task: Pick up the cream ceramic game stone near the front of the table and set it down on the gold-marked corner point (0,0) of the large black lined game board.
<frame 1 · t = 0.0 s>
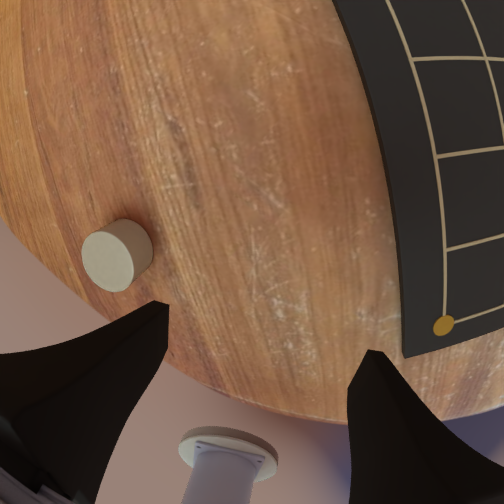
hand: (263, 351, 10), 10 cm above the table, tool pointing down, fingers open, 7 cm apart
game stone: (127, 247, 21), on the table
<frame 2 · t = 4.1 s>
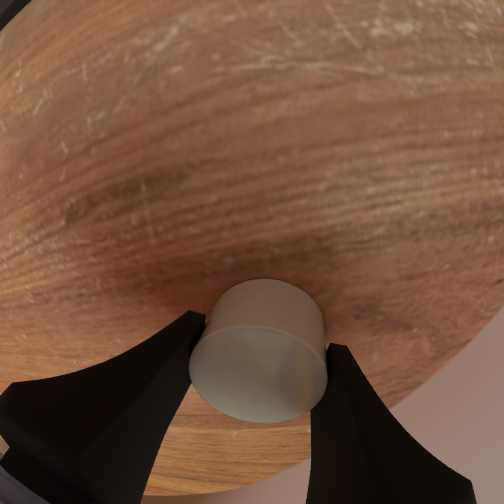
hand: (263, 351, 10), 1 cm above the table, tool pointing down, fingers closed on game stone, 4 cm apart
game stone: (267, 328, 12), on the table, touching gripper
when the fingers open (2 cm above the table, at t = 8.8 s): game stone stays where it is, resting on board.
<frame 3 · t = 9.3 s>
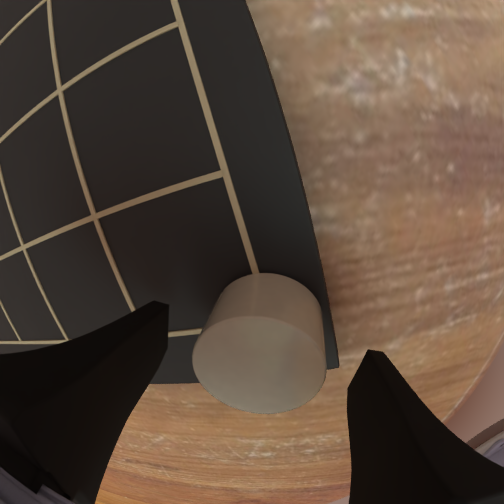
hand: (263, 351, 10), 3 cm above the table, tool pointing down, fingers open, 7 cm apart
game stone: (267, 322, 12), point 1 cm above the table, touching board
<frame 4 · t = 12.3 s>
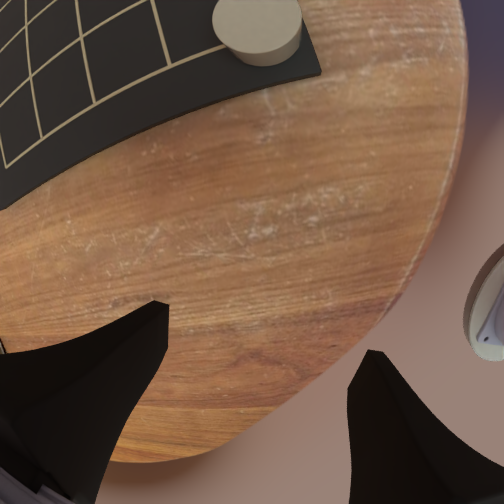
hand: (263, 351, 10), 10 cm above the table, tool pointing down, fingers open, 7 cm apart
game stone: (263, 33, 14), point 1 cm above the table, touching board
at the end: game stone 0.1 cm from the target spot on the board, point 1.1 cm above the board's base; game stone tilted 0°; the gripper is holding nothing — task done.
